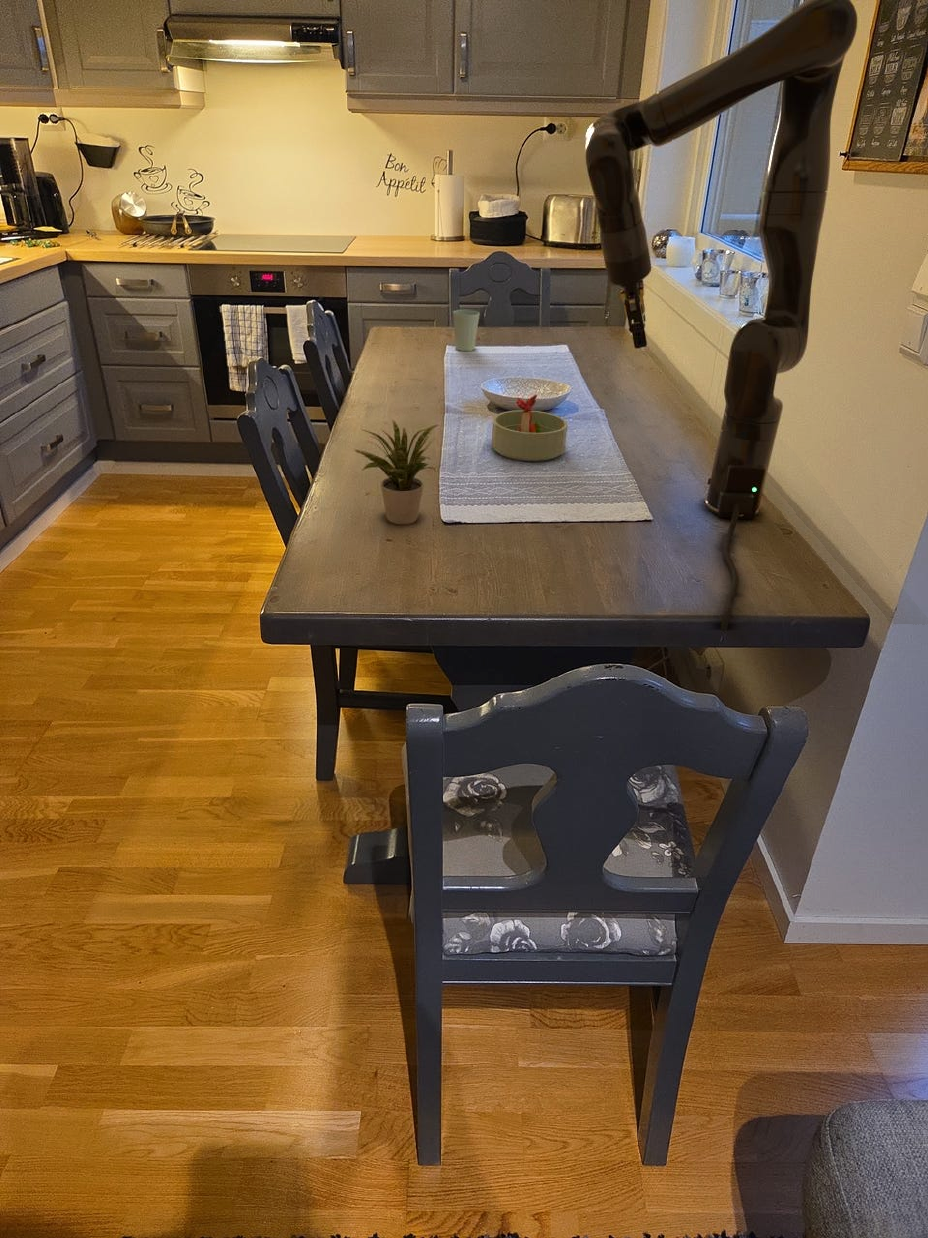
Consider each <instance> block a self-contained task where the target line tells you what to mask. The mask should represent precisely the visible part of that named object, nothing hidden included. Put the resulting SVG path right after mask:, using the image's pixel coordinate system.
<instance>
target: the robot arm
mask: <svg viewBox="0 0 928 1238" xmlns="http://www.w3.org/2000/svg"><path fill="white" fill-rule="evenodd" d="M857 29H858V13H857V10H856V8H855V5H854V4H853V2H852V1H851V0H804V1H803V2H802V3H800V5H798V6H797V7H796V8H795V9H794V10H792V12H790V13H789V14H788V15H786V17H785V16H784V18H782V19H781V20H780V21H778V22H777V23H776V24H774V25H773V26H772V27H770V28H769V29H768V30H766V31H765V32H763V33H762V34H760V35H759V36H758V37H757V36H756V38H754V39H753V40H751V41H749V42H748V43H747V44H745V45H743V46H742V47H739V48H738V49H736V50H734V51H733V52H731V53H729V54H727V55H726V56H723V57H722V58H719V59H718V60H716V61H714V62H712V63H710V64H707V65H706V66H704V67H702V68H701V69H698V70H696V71H695V72H693V73H690V74H688V75H687V76H684V77H683V78H681V79H679V80H677V81H675V82H673V83H671V84H670V85H668V86H666V87H664V88H662V89H661V90H659V91H657V92H655V93H654V94H651V95H650V96H649V97H647V98H644V99H643V100H639V101H635V102H633V103H630V104H628V105H624V106H621V107H618V108H616V109H613V110H611V111H609V112H607V113H605V114H603V115H602V116H599V118H597V119H596V120H594V121H593V123H591V125H590V126H589V128H588V129H587V132H586V134H585V137H584V160H585V167H586V171H587V176H588V180H589V183H590V187H591V190H592V194H593V196H594V202H595V211H596V216H597V222H598V227H599V235H600V236H599V237H600V246H601V250H602V251H601V252H602V256H603V261H604V266H605V271H606V275H607V281H609V283H611V284H612V285H614V286H620V297H621V298H620V299H621V300H622V302H623V308H624V309H623V310H624V315H625V317H626V318H627V322H628V332H629V333H630V334H631V336H632V342H633V346H634V349H642V348H645V347H647V345H648V341H647V335H646V334H647V333H646V329H645V328H646V305H645V295H646V294H645V282H644V279H646V278H647V277H648V276H649V275H650V273H651V272H652V261H651V256H650V255H651V254H650V249H649V242H648V235H647V230H646V227H645V223H644V219H643V213H642V207H641V201H640V195H639V192H638V188H637V186H636V182H635V172H634V171H635V170H634V164H633V156H632V155H633V154H632V152H635V151H637V150H639V149H641V148H644V147H646V146H650V145H651V146H653V147H663V146H664V145H665V146H666V145H667V144H669V143H672V142H673V141H675V140H677V139H680V138H681V137H683V136H685V135H687V134H689V133H690V132H693V131H695V130H696V129H698V128H700V127H702V126H703V125H705V124H707V123H709V122H711V121H713V120H714V119H715V118H717V117H719V116H720V115H722V114H723V113H725V112H727V111H728V110H730V109H732V108H733V107H734V106H736V105H737V104H739V103H741V102H742V101H744V100H746V99H747V98H749V97H751V96H753V95H755V94H757V93H759V92H760V91H762V90H765V89H767V88H768V87H771V86H773V85H775V84H778V83H780V82H781V97H780V99H781V100H780V108H779V116H778V121H777V122H778V123H777V127H776V131H775V134H774V138H773V142H772V146H771V151H770V154H769V158H768V163H767V167H766V173H765V179H764V183H763V189H762V195H761V196H762V197H761V203H760V212H759V218H758V219H759V220H758V231H759V232H758V234H759V239H760V244H761V248H762V252H763V256H764V260H765V264H766V269H767V274H768V292H767V300H766V305H765V310H764V316H763V317H759V318H754V319H751V320H748V321H746V322H744V323H743V324H742V325H741V326H740V327H739V328H738V330H737V331H736V332H735V335H734V336H733V339H732V341H731V344H730V349H729V354H728V358H727V359H728V360H727V366H726V373H725V378H724V387H723V395H724V401H725V407H724V412H723V417H722V421H721V426H720V430H719V435H718V439H717V440H718V441H717V445H716V451H715V455H714V460H713V466H712V470H711V475H710V477H709V478H708V480H707V484H706V485H707V486H708V492H707V495H706V497H705V502H704V505H705V506H704V507H705V508H706V509H707V510H708V511H710V512H712V513H714V514H715V515H717V516H718V517H719V518H724V519H725V518H726V519H727V518H728V519H731V520H730V523H729V526H728V528H727V531H726V532H727V533H726V535H725V539H724V541H723V544H722V557H723V561H724V563H725V565H726V566H727V568H728V570H729V573H730V576H731V582H730V583H731V584H730V588H729V591H728V594H727V596H726V600H725V603H724V608H723V613H722V616H721V622H720V627H719V628H720V629H721V630H722V631H727V630H728V628H729V623H730V619H731V614H732V609H733V603H734V600H735V597H736V594H737V591H738V587H739V582H740V581H739V580H740V579H739V574H738V573H739V572H738V570H737V568H736V566H735V564H734V562H733V560H732V559H731V555H730V544H731V542H732V538H733V535H734V532H735V529H736V526H737V523H738V519H740V520H741V519H743V520H755V517H756V516H757V515H758V514H759V511H760V509H761V508H760V505H761V500H762V496H763V493H764V492H763V491H764V488H765V483H766V480H767V475H768V472H769V466H770V462H771V459H772V454H773V450H774V446H775V441H776V439H777V433H778V430H779V425H780V421H781V417H782V413H783V409H784V404H783V401H782V400H781V399H780V398H779V397H777V396H775V387H776V380H777V375H779V374H783V373H786V372H789V371H791V370H793V369H794V368H796V367H797V366H798V365H799V364H800V362H801V361H802V359H803V357H804V356H805V353H806V349H807V347H808V346H807V345H808V339H809V328H810V315H811V313H810V312H811V295H812V286H813V278H814V271H815V266H816V259H817V253H818V246H819V239H820V234H821V229H822V224H823V219H824V218H823V217H824V212H825V207H826V201H827V197H828V196H827V195H828V189H829V179H830V171H831V170H830V169H831V168H830V167H831V125H832V123H831V122H832V112H833V107H834V100H835V96H836V92H837V89H838V83H839V80H840V75H841V71H842V67H843V64H844V62H845V61H844V60H845V57H846V55H847V53H848V52H849V50H850V48H851V47H852V45H853V42H854V40H855V37H856V34H857Z"/></svg>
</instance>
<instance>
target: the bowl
mask: <svg viewBox="0 0 928 1238" xmlns="http://www.w3.org/2000/svg"><path fill="white" fill-rule="evenodd" d="M523 411H524V410H522V409H519V410H508V411H504V412H500V413H498V414H496V415H495V416H493V418H492V429H491V445H490V446H491V448H492V449H493V450H494V451H495V452H496V453H498V454H499V455H501V456H503V457H505V458H507V459H512V460H517V461H521V462H522V461H523V462H544V461H550V460H554V459H556V458H558V457H559V456H562V455H563V453H564V452H565V451H566V445H567V444H566V443H567V435H568V434H567V433H568V421H566V420H565V419H564V418H563V417H561V416H558V415H556V414H553V413H549V412H545V411H540V410H539V411H538V410H531V411H532V419H533V423H535V422H538V423H539V424H540V429H541V430H542V431H543V433H529V432H520V431H517V430H518V428H519V426H520V425H521V421H522V413H523Z"/></svg>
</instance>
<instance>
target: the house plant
mask: <svg viewBox="0 0 928 1238" xmlns="http://www.w3.org/2000/svg"><path fill="white" fill-rule="evenodd" d="M439 425H440V424H434V425H432V426H430V427H427V428H424V429H420V430H418V431H417V432H416V433H414V435H413V436H412V438H411V440H410V443H409V445H408V433H407V430H406V428H405V427H403V428H402V436H401V431H400V428H399V426H398V424H397V422H396V421H395V420H394V419H392V426H393V433H394V435H393V436H394V438H393V437H392V436H391V435H390V434H389V433H387V432H386V431H385V430H383V429H381V431H382V432H383V433H384V434H385V435H386V436H387V437H388V439H389V440H390V442H391V444H392V446H393V447H391V446H390V444H389V443H388V442H387V441H386V440H385V439H384V438H383V437H382V436H381V435H379V434H377V433H375V432H373V431H368V430H365V429H361V431H362V432H365V433H367V434H370V435H372V436H370V435H369V437H370V438H373V439H375V440H377V441H378V442H379V443H380V444H381V445H382V447H383V449H384V450H385V451H384V450H383V449H382V448H381V447H380V446H378V445H377V444H376V443H374V442H372V441H369V440H366V442H368V443H371V444H374V445H375V446H376V447H378V448H379V449H380V450H381V451H382V452H383V453H384V454H385V456H386V458H387V457H388V459H389V461H390V462H388V461H387V460H386V459H384V458H382V457H380V456H378V455H375V454H373V453H372V452H371V453H370V452H368V451H365V450H359V449H354V451H355V452H356V453H357V454H360V455H362V456H363V457H364V458H367V459H368V460H370V461H371V462H368V463H367V464H365V465H364V466H363V468H362V470H361V472H363V471H364V470H366V469H367V470H368V469H371V468H379V469H380V470H381V471H382V472H383V473H384V474H385V475H386V476H387V477H386V478H384V479H383V480H381V482H380V487H381V493H382V499H383V505H384V510H385V516H386V520H387V521H388V522H390V523H392V524H396V525H409V524H412V523H414V522H416V521H417V520H418V516H419V509H420V505H421V499H422V494H423V488H424V482H423V480H421V479H419V478H417V477H415V476H416V475H417V474H418V473H419V472H420V471H423V470H425V469H430V470H433V471H436V469H435V467H433V466H430V464H429V463H425V460H427V459H428V460H431V458H430V457H429V456H424V455H423V453H424V452H425V451H426V450H427V449H428V447H429V446H430V445H431V444H432V443H433V441H434V440H435V438H433V439H432V440H431V441H430V442H429V443H428V444H427V445H426V447H425V448H423V446H424V445H425V444H426V442H427V441H428V438H429V437H430V436H431V434H433V433H432V432H431V431H432V430H433V429H435V428H436V427H438V426H439ZM420 433H421V435H420V436H418V435H419V434H420ZM417 436H418V438H417V439H416V437H417ZM415 439H416V440H417V441H416V443H415V445H414V448H413V450H412V453H411V456H410V459H409V454H410V451H411V448H412V445H413V443H414V441H415ZM363 441H364V440H363ZM364 442H365V441H364ZM422 448H423V449H422ZM389 452H390V454H389ZM423 461H424V462H423ZM428 465H429V466H428ZM427 466H428V467H427Z"/></svg>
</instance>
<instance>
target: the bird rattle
mask: <svg viewBox="0 0 928 1238" xmlns="http://www.w3.org/2000/svg"><path fill="white" fill-rule="evenodd" d="M537 398H538V395H537V394H534V395H532V396H531V397H530V398H528V399H526V401H524V400H522V399H521V398H520V397H517V398H516V400H517V401H516V405H517V406H518V408H519V409H520V410H524V411H523V413H522V421H521V425H520V426H519V428H518V430H517V431H520V432H529V433H543V431H542V430H541V429H540V424H539V423H538V422H535V423H533V419H532V411H533V410H531V409H532V408H533V407H534V406H535V404H536V402H537V401H536V399H537Z"/></svg>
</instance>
